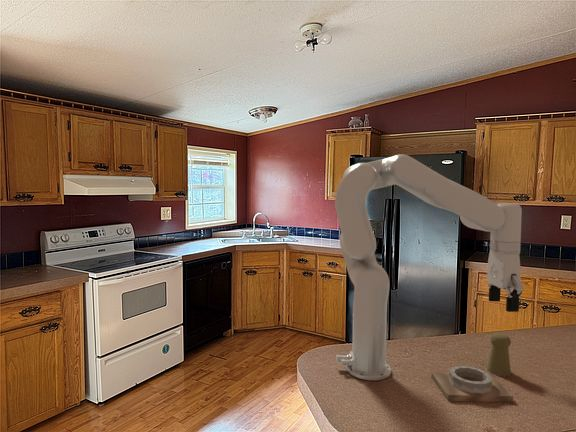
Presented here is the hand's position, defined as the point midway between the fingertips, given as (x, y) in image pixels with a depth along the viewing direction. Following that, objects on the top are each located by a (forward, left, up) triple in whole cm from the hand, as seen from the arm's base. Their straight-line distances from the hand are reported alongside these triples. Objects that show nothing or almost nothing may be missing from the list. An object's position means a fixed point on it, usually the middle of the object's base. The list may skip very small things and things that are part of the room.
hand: (502, 306), depth 112 cm
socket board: (-13, -11, -19) cm, 26 cm away
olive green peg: (0, 0, -20) cm, 20 cm away
